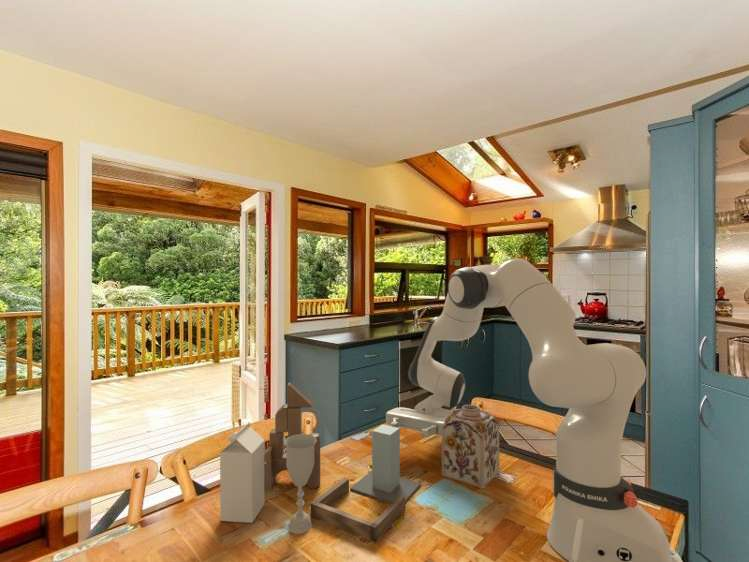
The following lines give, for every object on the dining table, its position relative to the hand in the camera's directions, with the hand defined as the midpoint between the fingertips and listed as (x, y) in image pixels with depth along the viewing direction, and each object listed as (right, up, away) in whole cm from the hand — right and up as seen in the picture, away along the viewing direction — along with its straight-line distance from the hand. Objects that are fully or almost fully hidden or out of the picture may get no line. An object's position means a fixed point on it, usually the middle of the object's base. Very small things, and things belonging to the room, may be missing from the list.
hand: (408, 430), depth 109 cm
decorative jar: (+16, -11, -3) cm, 20 cm away
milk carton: (-38, -11, -20) cm, 45 cm away
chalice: (-25, -11, -25) cm, 37 cm away
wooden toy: (-31, -11, -8) cm, 33 cm away
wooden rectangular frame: (-13, -11, -21) cm, 27 cm away
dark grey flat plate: (-6, -11, -10) cm, 16 cm away
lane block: (-6, -10, -10) cm, 16 cm away
